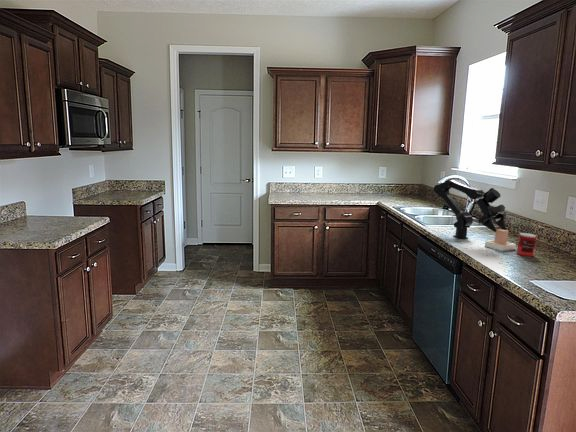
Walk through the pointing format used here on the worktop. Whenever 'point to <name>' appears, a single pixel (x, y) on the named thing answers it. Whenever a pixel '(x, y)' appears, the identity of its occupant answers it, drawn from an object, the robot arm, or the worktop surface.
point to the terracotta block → (501, 237)
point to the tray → (500, 246)
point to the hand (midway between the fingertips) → (500, 230)
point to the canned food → (526, 244)
